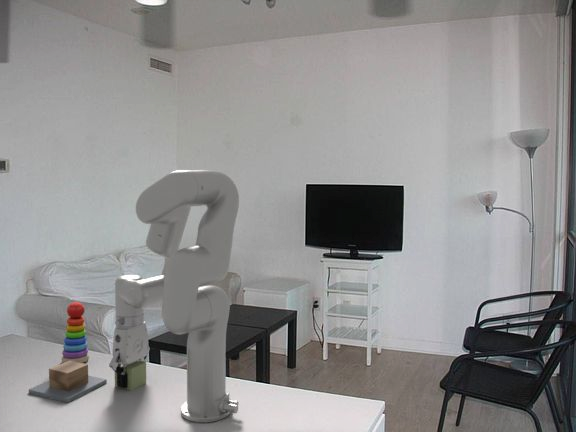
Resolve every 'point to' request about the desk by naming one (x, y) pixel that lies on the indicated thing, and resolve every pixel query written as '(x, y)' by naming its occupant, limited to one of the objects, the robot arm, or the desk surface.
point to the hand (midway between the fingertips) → (130, 382)
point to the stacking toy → (75, 335)
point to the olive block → (134, 375)
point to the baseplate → (67, 395)
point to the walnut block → (68, 375)
